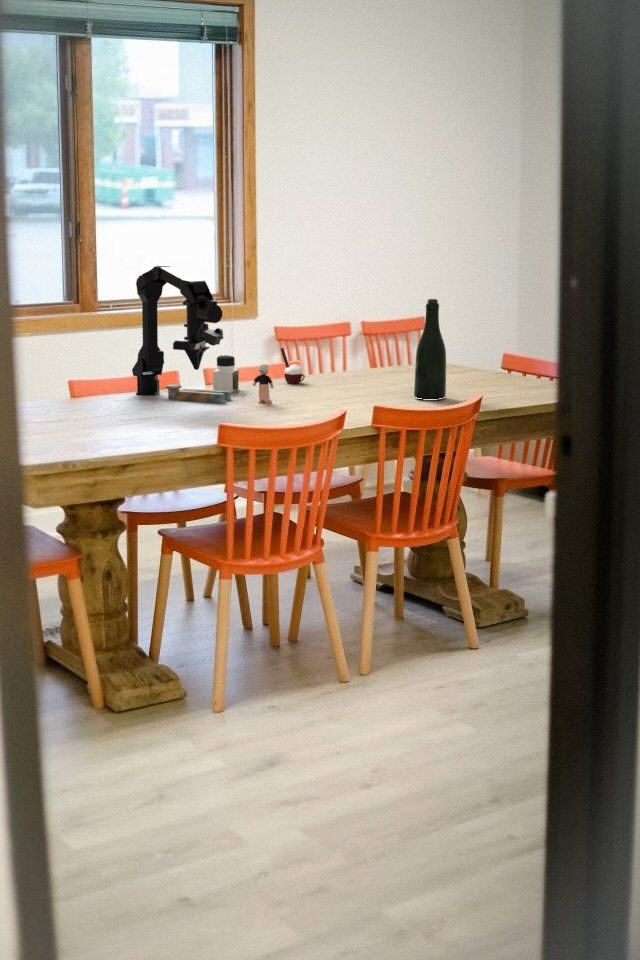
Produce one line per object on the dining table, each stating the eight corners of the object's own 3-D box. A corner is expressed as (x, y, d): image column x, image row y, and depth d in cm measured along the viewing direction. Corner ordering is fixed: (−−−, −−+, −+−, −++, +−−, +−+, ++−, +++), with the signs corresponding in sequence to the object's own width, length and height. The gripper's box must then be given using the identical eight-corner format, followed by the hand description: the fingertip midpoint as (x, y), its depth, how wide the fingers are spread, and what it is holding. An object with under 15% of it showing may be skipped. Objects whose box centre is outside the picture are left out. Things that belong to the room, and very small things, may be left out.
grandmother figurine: (276, 402, 397) (276, 363, 394) (272, 404, 394) (272, 365, 391) (254, 401, 400) (254, 362, 397) (250, 403, 396) (250, 364, 393)
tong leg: (176, 399, 401) (176, 391, 400) (179, 398, 403) (179, 390, 402) (221, 403, 395) (221, 394, 394) (225, 402, 397) (224, 393, 396)
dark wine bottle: (451, 398, 407) (455, 299, 399) (432, 402, 399) (435, 301, 392) (427, 394, 414) (429, 296, 406) (407, 398, 406) (410, 298, 398)
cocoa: (306, 385, 434) (309, 351, 431) (292, 386, 430) (294, 352, 427) (291, 380, 441) (293, 347, 438) (277, 381, 438) (278, 348, 435)
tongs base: (163, 398, 403) (163, 386, 402) (170, 395, 408) (169, 384, 407) (225, 402, 397) (225, 390, 396) (231, 399, 402) (230, 387, 401)
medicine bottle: (233, 392, 415) (232, 357, 412) (213, 391, 416) (212, 356, 414) (238, 389, 422) (238, 354, 419) (218, 388, 423) (218, 354, 420)
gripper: (202, 324, 374) (203, 375, 377) (232, 318, 390) (233, 367, 394) (171, 322, 378) (172, 372, 382) (202, 317, 395) (203, 365, 399)
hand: (196, 369), depth 389 cm, fingers closed
